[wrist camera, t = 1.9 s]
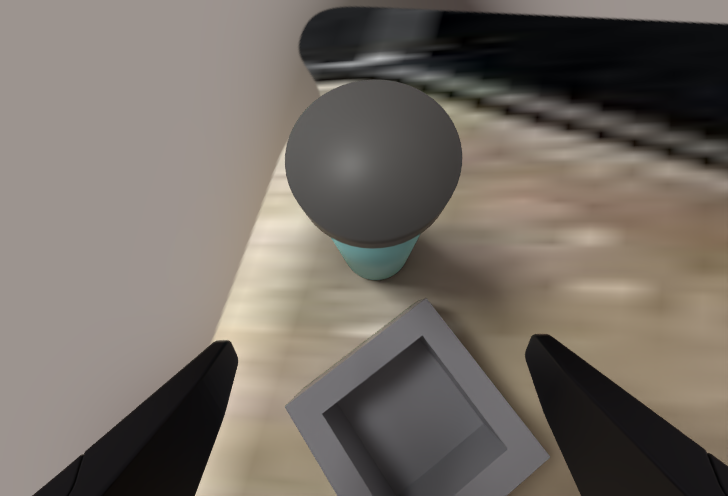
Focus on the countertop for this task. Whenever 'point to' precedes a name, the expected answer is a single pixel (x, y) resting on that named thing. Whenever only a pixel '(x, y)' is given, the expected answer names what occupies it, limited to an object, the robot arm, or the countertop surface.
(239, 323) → the countertop surface
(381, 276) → the peg
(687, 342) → the countertop surface
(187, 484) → the robot arm
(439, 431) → the socket block
